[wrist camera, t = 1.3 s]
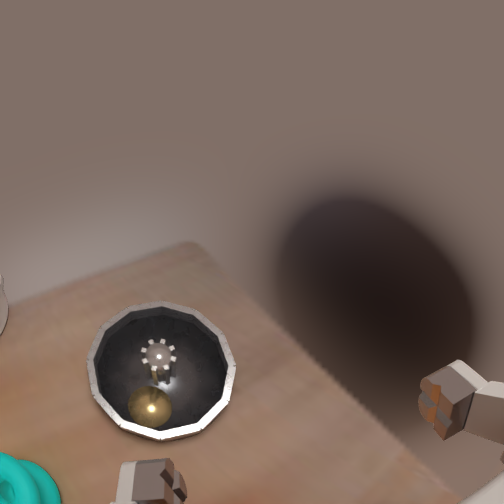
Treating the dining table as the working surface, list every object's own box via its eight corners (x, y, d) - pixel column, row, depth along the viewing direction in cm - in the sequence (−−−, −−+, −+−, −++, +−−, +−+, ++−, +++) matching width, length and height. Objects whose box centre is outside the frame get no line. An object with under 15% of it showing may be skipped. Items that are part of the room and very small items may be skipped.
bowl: (76, 413, 36) (59, 398, 30) (121, 301, 50) (115, 273, 44) (215, 456, 37) (222, 450, 31) (240, 334, 50) (249, 309, 45)
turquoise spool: (-44, 490, 15) (-17, 432, 22) (-6, 495, 22) (18, 447, 29) (18, 546, 14) (47, 486, 21) (49, 539, 22) (74, 488, 28)
